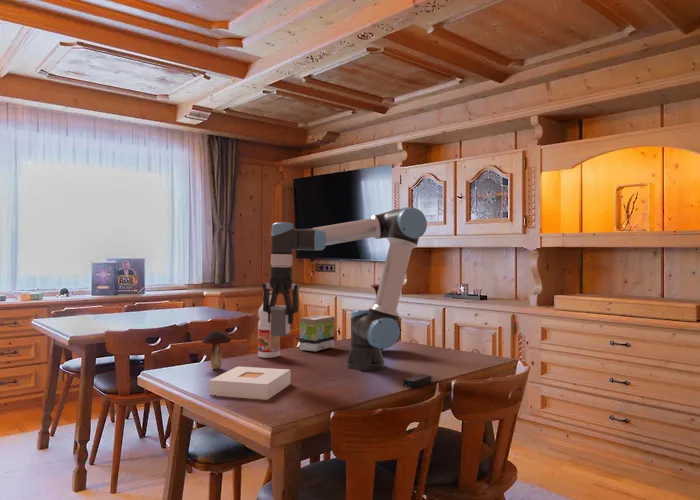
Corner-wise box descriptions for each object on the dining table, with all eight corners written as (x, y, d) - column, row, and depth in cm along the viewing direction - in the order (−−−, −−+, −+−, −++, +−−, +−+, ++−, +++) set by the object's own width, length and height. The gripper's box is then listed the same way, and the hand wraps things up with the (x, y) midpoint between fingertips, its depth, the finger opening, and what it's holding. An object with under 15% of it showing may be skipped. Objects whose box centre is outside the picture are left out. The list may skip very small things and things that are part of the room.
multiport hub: (431, 382, 188) (431, 375, 188) (413, 388, 180) (413, 381, 180) (421, 380, 191) (421, 373, 191) (403, 386, 183) (403, 379, 183)
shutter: (264, 377, 180) (264, 374, 180) (256, 382, 174) (256, 379, 174) (246, 376, 181) (246, 373, 181) (238, 380, 175) (238, 377, 175)
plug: (289, 334, 189) (290, 305, 189) (284, 336, 184) (284, 307, 184) (276, 333, 190) (276, 305, 190) (270, 335, 185) (270, 306, 185)
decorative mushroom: (205, 366, 212) (205, 328, 212) (233, 365, 213) (233, 328, 213) (199, 372, 202) (199, 333, 201) (228, 372, 202) (228, 332, 202)
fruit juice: (281, 357, 229) (281, 292, 228) (259, 358, 226) (258, 293, 226) (278, 353, 238) (278, 290, 237) (257, 354, 235) (257, 291, 235)
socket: (290, 384, 185) (290, 369, 185) (267, 400, 165) (267, 384, 165) (237, 380, 190) (237, 366, 190) (209, 395, 170) (209, 380, 170)
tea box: (316, 352, 240) (316, 319, 240) (299, 349, 246) (299, 317, 246) (335, 346, 253) (335, 315, 253) (317, 344, 258) (317, 314, 258)
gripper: (309, 266, 188) (307, 332, 188) (262, 265, 193) (261, 329, 193) (301, 267, 181) (300, 335, 181) (253, 266, 186) (251, 332, 186)
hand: (280, 332), depth 187 cm, fingers closed on plug, 5 cm apart
